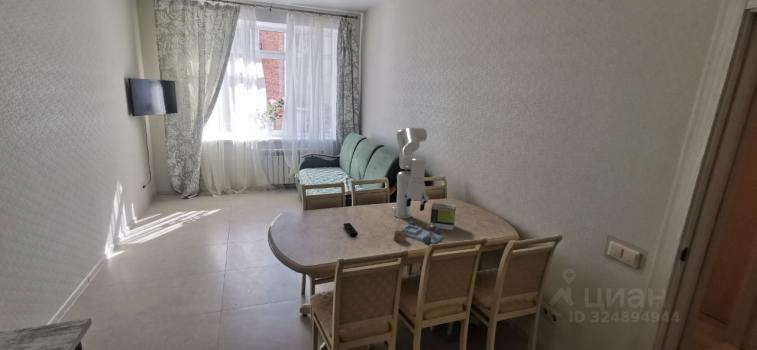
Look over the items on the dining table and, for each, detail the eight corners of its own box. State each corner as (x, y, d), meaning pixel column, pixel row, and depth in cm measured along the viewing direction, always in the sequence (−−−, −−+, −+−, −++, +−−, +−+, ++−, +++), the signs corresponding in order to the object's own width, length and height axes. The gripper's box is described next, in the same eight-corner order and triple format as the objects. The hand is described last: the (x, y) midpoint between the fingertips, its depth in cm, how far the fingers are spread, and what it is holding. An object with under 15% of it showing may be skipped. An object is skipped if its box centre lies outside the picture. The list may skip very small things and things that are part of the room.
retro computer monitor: (454, 225, 235) (456, 204, 231) (453, 231, 226) (455, 209, 222) (431, 222, 239) (433, 201, 235) (429, 227, 229) (431, 205, 226)
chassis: (393, 233, 217) (394, 226, 216) (406, 226, 230) (407, 219, 229) (432, 245, 203) (433, 238, 202) (443, 237, 216) (444, 230, 215)
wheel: (425, 233, 210) (425, 226, 209) (429, 230, 215) (429, 223, 213) (433, 235, 208) (433, 228, 206) (436, 233, 212) (437, 225, 211)
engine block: (393, 240, 207) (394, 229, 205) (398, 238, 211) (399, 227, 209) (401, 243, 204) (402, 232, 203) (405, 240, 208) (406, 229, 207)
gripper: (401, 177, 205) (399, 205, 209) (425, 183, 193) (423, 213, 197) (409, 175, 210) (407, 203, 214) (433, 181, 199) (431, 210, 203)
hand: (415, 208), depth 206 cm, fingers open, 9 cm apart
